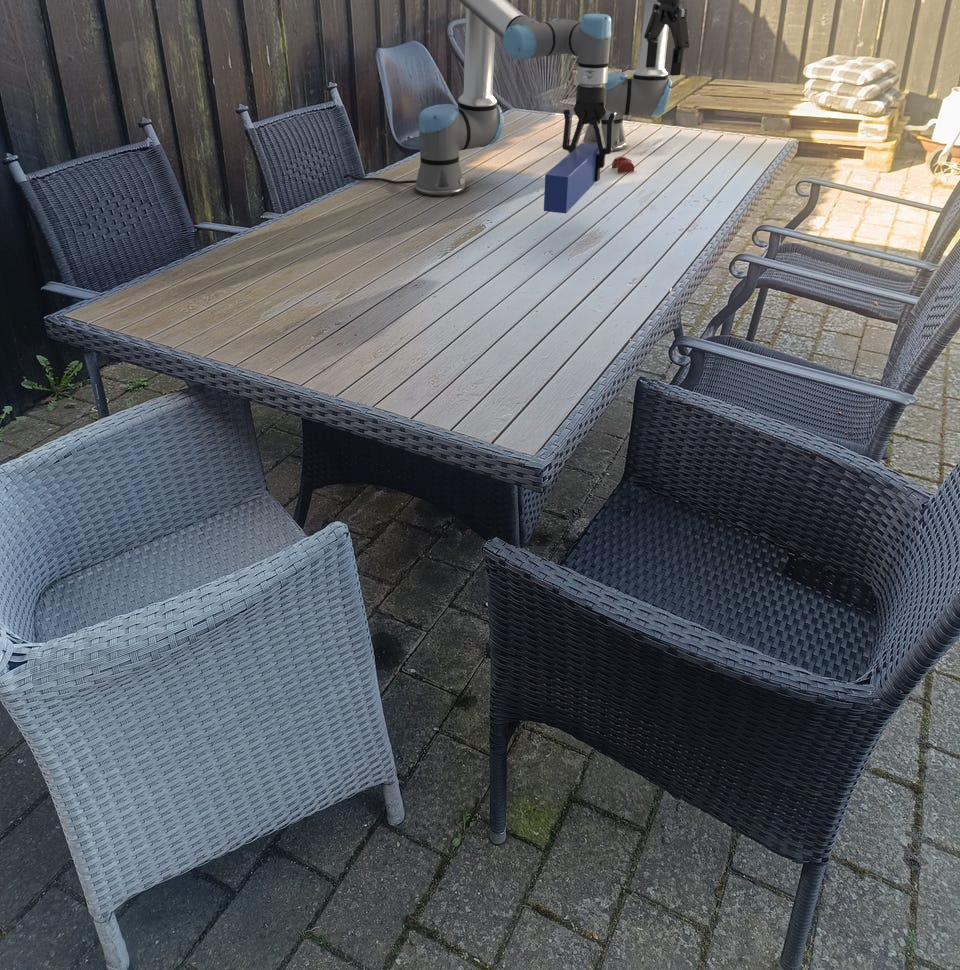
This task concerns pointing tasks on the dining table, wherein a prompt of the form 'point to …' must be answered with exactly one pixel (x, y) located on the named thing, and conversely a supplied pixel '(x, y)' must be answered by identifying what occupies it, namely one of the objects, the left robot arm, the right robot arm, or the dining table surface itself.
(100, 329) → the dining table surface
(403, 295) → the dining table surface
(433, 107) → the left robot arm
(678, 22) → the right robot arm
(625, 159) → the red lumpy piece
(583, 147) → the bar
